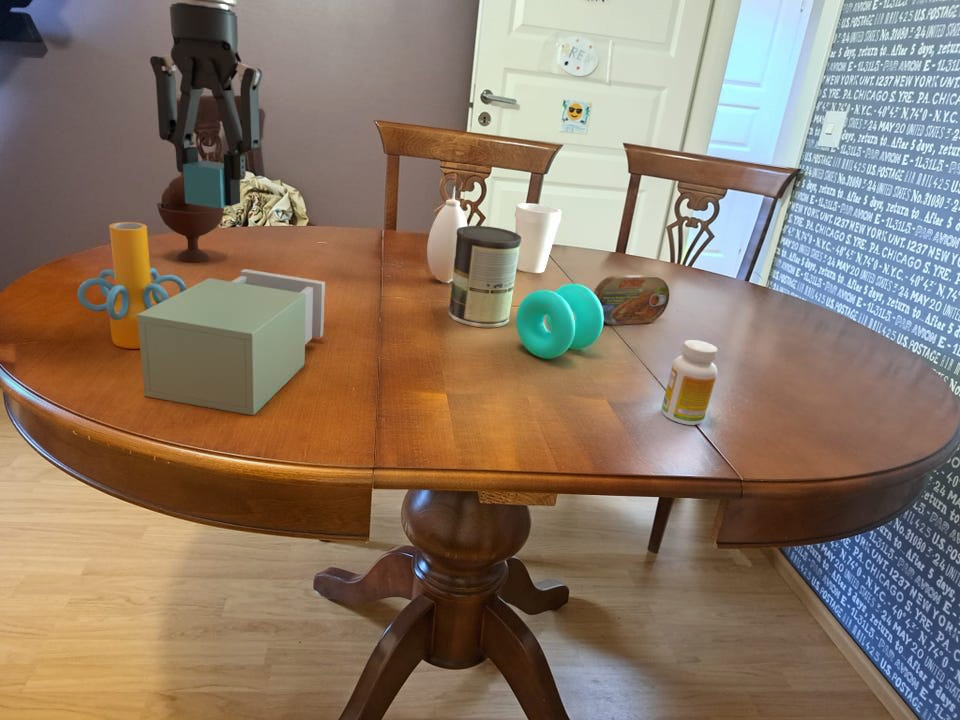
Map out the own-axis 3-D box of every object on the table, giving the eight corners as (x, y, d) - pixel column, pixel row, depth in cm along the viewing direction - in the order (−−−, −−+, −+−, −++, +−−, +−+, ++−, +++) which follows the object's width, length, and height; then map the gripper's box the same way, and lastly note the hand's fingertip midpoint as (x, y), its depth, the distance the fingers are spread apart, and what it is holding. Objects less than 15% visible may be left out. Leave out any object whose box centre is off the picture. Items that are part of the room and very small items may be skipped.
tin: (595, 326, 113) (604, 278, 109) (585, 319, 115) (594, 273, 112) (664, 323, 119) (675, 277, 116) (653, 316, 121) (664, 272, 118)
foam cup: (514, 273, 137) (523, 211, 132) (502, 261, 145) (511, 201, 140) (557, 276, 140) (567, 214, 134) (543, 263, 148) (552, 205, 143)
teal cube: (184, 203, 87) (182, 164, 85) (204, 197, 91) (202, 160, 89) (221, 208, 86) (219, 169, 84) (239, 202, 91) (238, 165, 89)
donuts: (600, 356, 100) (613, 293, 96) (559, 370, 93) (572, 303, 89) (549, 334, 106) (559, 274, 102) (507, 346, 99) (517, 282, 95)
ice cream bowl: (236, 262, 121) (234, 179, 116) (175, 269, 114) (169, 180, 108) (209, 248, 128) (205, 168, 122) (149, 253, 120) (143, 169, 114)
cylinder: (87, 362, 78) (71, 238, 73) (80, 330, 86) (66, 216, 80) (197, 351, 85) (190, 236, 79) (181, 322, 93) (175, 216, 87)
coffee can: (435, 316, 108) (444, 230, 102) (468, 302, 116) (477, 222, 111) (490, 333, 104) (502, 244, 98) (520, 317, 112) (532, 235, 106)
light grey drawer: (264, 308, 99) (264, 258, 96) (338, 320, 98) (340, 270, 95) (194, 357, 81) (191, 297, 78) (284, 373, 80) (284, 312, 77)
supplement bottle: (712, 421, 84) (732, 351, 80) (685, 429, 81) (705, 357, 77) (678, 402, 88) (696, 335, 84) (652, 410, 85) (669, 340, 81)
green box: (211, 348, 86) (208, 277, 82) (304, 364, 85) (306, 293, 81) (144, 396, 73) (136, 314, 69) (253, 415, 72) (252, 333, 68)
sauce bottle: (468, 279, 129) (479, 185, 122) (460, 290, 122) (471, 191, 115) (430, 272, 130) (438, 179, 123) (419, 283, 123) (428, 185, 116)
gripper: (288, 17, 82) (288, 205, 91) (150, 1, 84) (164, 188, 93) (262, 11, 75) (265, 215, 84) (113, -7, 77) (132, 196, 86)
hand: (212, 200), depth 89 cm, fingers closed on teal cube, 5 cm apart
